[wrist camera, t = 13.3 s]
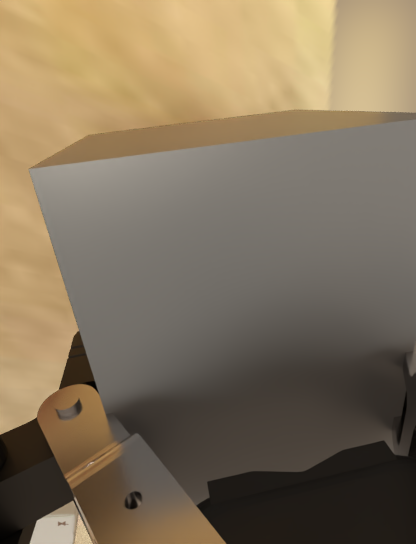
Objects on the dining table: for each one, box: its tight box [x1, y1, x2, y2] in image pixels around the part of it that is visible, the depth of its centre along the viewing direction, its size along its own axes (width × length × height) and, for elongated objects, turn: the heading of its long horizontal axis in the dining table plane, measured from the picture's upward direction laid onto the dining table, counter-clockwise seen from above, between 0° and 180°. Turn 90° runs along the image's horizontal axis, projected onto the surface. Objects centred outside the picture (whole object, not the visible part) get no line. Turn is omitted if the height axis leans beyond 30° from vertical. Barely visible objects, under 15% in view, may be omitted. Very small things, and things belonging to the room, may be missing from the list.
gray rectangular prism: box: [29, 110, 416, 505], centre depth 11 cm, size 12×7×7 cm, turn 6°
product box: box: [30, 501, 79, 544], centre depth 32 cm, size 6×6×7 cm
